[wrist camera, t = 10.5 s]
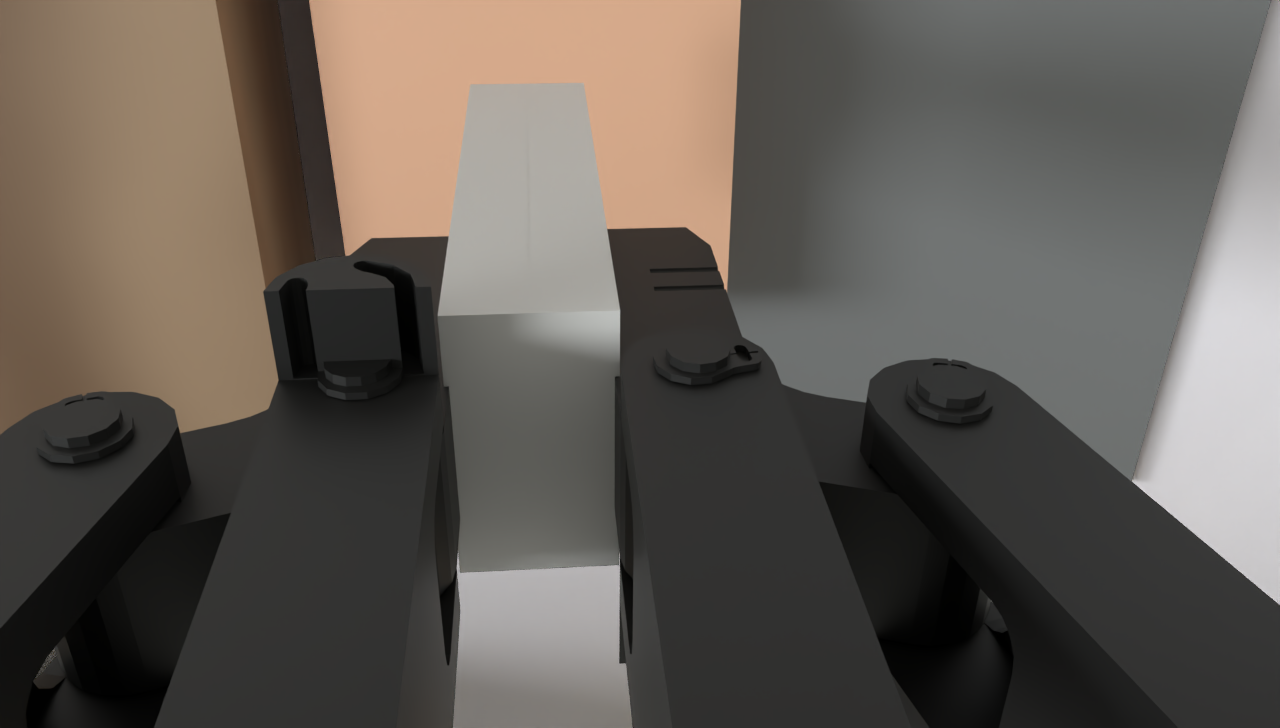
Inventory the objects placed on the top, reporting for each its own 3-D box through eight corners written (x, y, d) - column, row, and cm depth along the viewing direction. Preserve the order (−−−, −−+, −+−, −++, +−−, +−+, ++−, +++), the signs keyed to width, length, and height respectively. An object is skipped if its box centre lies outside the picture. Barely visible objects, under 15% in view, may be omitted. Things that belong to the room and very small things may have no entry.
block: (376, 296, 23) (359, 356, 21) (305, -247, 18) (274, -241, 16) (707, 286, 24) (724, 343, 22) (728, -247, 19) (751, -241, 17)
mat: (394, 504, 27) (391, 517, 26) (240, -750, 16) (231, -763, 15) (1120, 477, 28) (1128, 489, 28) (1452, -697, 17) (1477, -708, 17)
